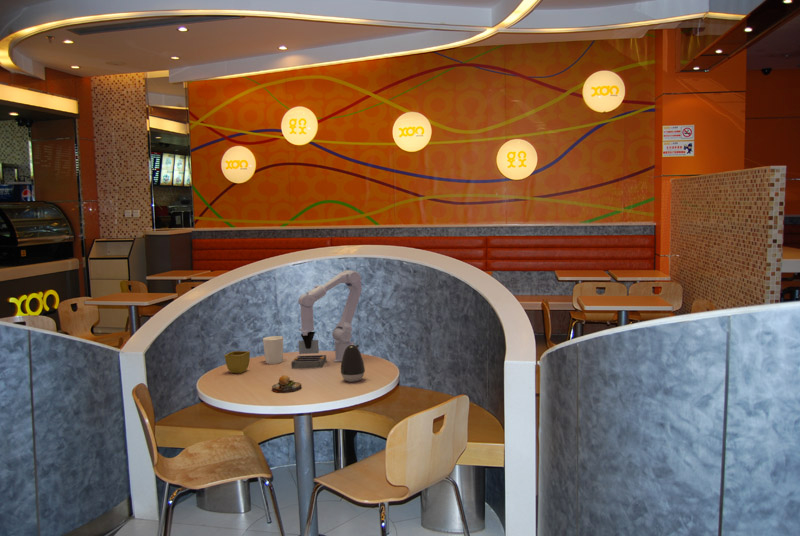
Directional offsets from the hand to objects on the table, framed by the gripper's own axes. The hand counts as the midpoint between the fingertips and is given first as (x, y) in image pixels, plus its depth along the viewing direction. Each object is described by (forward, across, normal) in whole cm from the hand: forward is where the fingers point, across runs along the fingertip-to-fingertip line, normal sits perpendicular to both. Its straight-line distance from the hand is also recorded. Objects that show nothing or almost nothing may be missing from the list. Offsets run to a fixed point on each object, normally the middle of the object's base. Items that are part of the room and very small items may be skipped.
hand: (308, 347), depth 292 cm
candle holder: (+9, -10, -19) cm, 23 cm away
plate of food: (+9, +42, -2) cm, 43 cm away
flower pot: (+8, +9, -32) cm, 34 cm away
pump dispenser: (+9, +31, +24) cm, 40 cm away
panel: (+2, 0, 0) cm, 2 cm away
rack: (+8, -1, 0) cm, 9 cm away
